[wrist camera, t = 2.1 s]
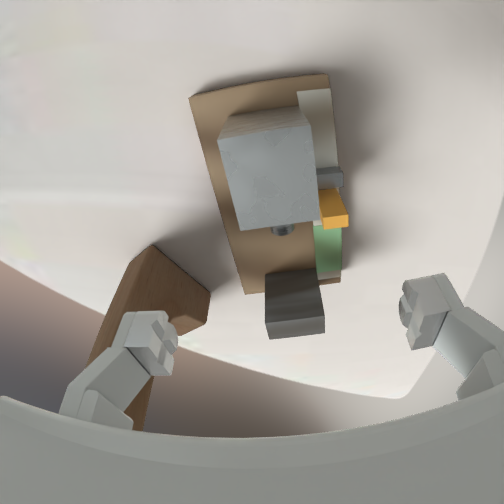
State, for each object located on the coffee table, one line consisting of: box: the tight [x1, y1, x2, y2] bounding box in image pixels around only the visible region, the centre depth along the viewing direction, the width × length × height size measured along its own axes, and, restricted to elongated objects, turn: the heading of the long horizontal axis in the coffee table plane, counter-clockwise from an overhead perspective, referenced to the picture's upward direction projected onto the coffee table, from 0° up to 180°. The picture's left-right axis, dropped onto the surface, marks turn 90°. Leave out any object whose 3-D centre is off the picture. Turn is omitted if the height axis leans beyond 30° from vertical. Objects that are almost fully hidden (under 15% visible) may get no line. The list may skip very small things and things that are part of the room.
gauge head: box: [217, 105, 344, 236], centre depth 19 cm, size 8×8×6 cm
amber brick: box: [318, 188, 348, 230], centre depth 22 cm, size 1×2×4 cm, turn 101°
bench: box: [188, 74, 342, 340], centre depth 23 cm, size 20×10×8 cm, turn 11°
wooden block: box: [85, 245, 211, 431], centre depth 25 cm, size 9×4×18 cm, turn 39°
